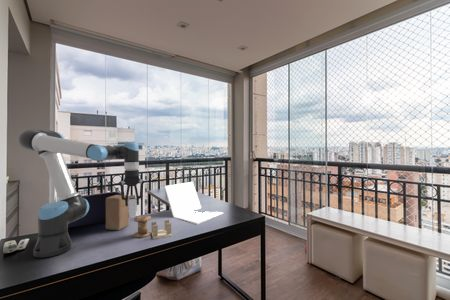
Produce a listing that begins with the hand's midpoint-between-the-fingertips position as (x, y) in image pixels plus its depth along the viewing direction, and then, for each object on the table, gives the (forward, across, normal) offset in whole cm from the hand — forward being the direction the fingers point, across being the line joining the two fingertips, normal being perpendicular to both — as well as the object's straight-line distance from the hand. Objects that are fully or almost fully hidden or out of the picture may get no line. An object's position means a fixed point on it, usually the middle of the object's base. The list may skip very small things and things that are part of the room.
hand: (132, 211), depth 122 cm
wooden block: (+15, -8, +22) cm, 28 cm away
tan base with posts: (+15, +15, -2) cm, 22 cm away
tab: (+2, 0, 0) cm, 2 cm away
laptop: (+16, +44, +27) cm, 54 cm away
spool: (+15, +5, +2) cm, 16 cm away
